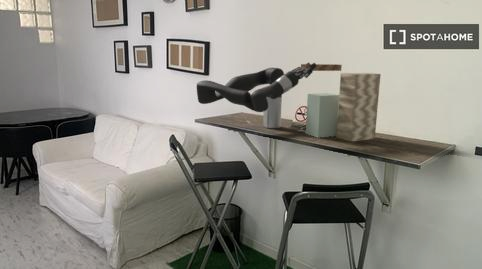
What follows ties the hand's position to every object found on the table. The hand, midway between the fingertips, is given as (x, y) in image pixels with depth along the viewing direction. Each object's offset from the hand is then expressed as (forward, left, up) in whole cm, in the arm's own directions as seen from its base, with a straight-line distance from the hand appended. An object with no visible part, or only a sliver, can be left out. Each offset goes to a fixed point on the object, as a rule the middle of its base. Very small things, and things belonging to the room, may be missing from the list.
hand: (312, 64), depth 184 cm
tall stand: (+22, -9, -36) cm, 43 cm away
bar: (+6, +1, -3) cm, 6 cm away
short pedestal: (+8, +2, -36) cm, 37 cm away
